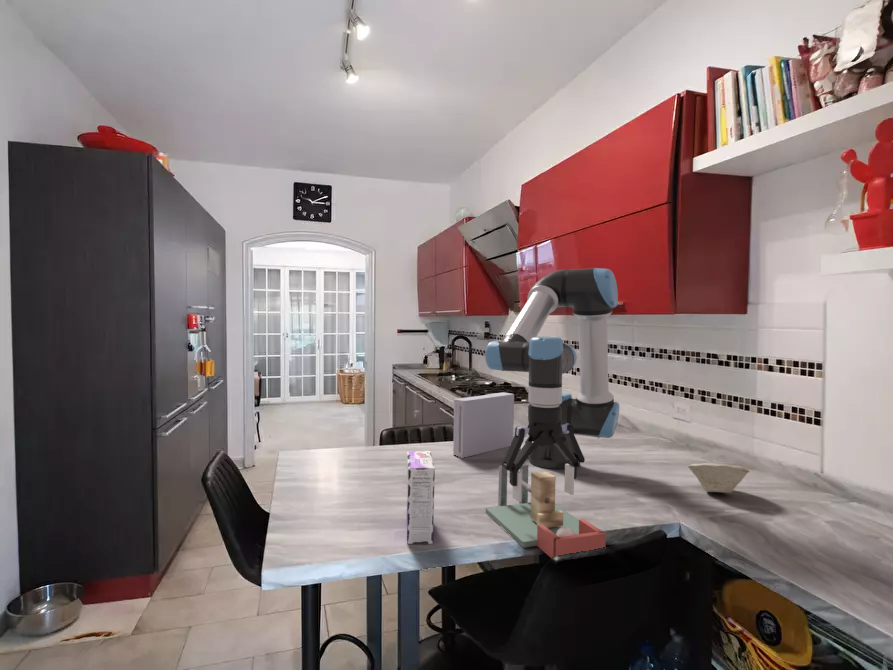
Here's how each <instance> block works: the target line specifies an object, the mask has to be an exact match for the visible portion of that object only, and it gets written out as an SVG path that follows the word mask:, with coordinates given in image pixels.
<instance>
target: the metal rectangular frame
mask: <svg viewBox="0 0 893 670" xmlns="http://www.w3.org/2000/svg"><path fill="white" fill-rule="evenodd" d="M519 471H520V472H521V480H523V481H524V482H526V483H527V484H529V464H527V463H525V462H524V464H523V465H522V466H521V468H520V469H519ZM528 498H529V491H527V490H526V489H524V488H523V487H521V501H520V502H518V504H520V503H521V504H524V503H529V502H528V501H529V499H528ZM507 500H508V470H506V469H505V468H503V467H502V465H498V501H497V502H498V506H507V505H508V501H507Z"/></svg>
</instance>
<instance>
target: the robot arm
mask: <svg viewBox="0 0 893 670" xmlns="http://www.w3.org/2000/svg"><path fill="white" fill-rule="evenodd" d="M618 291H619V290H618V285H617V280H616V277H615V274H614V273H613V271H612V270H611V269H609V268H599V267H594V268H593V267H591V268H577V269H576V268H574V269H572V268H571V269H559V270H556V271H553V272H550V273H548V274H546V275H545V276H543V277H542V278H540V279H539V280H538V281H536V282H535V284H534V285H533V286H532V287H531V289H530V290H529V292H528V293H527V301H526V302H525V304H524V306H523V307H522V308H521V310H520V312H519V313H518V315H517V316H516V318H515V320H514V321H513V322H512V324H511V326H510V328H509V329H508V331H507V332H506V333H505V336H504V337H503V338H502V340H493V341H490V342H489V343H488V344H487V346H486V347H485V353H484V354H485V355H484V359H485V363H486V366H487V367H488V368H489V369H491V370H493V371H494V370H496V371H501V372H521V373H522V372H523V373H528V395H527V397H528V398H527V399H528V400H527V401H528V403H529V404H528V407H527V420H528V425H527V427H521V426H520V425H517V426H516V427H514V428H515V429H514V435H513V440H512V442H511V444H510V446H509V447H508V449H507V451H506V454H505V456H504V459H503V460H502V462H501V466H502V467H503V468H505V469H506V470H507V472H508V471H509V476H510V478H509V485H511V486H512V498H513V499H514V500H515V501H516V502H518V503H519V502H520V501H521V472H520V468H521V466H522V465H523V464H525V462H526V461H527V459H528V458H529V463H530V464H532V465H534V466H535V467H539V468H545V469H553V470H554V469H555V470H556V469H557V470H561V469H562V470H563V469H564V492H566V493H567V494H569V495H571V496H572V495H574V494H575V493H574V492H575V480H576V479H577V477H578V476H577V473H578V468H579V467H580V466H581V464H583V463H584V462H585V461H586V459H585V456H584V454H583V451H582V450H581V447H580V445H579V442H578V440H577V439H576V436H583V437H590V438H591V437H592V438H597V439H600V438H603V439H611V438H613V437H614V435H615V433H616V430H617V425H618V423H619V422H618V421H619V416H620V403H619V402H618V401H615V400H614V394H613V393H612V392H610V389H609V351H608V350H609V349H608V347H609V346H608V345H609V344H608V343H609V342H608V340H609V339H608V317H610V316H611V314H612V313H613V309H614V308H616V307H617V306H618V303H619V297H618V296H619V292H618ZM557 308H572V314H573V316H575V317H576V318H577V322H578V323H577V324H578V326H577V327H578V349H579V351H578V352H579V353H578V354H579V355H578V356H579V384H580V385H579V386H580V388H579V389H580V390H579V392H578V393H576V395H575V398H573V396H572V394H571V393H568V392H567V393H566V392H563V375H564V374H566V373H569V371H571V370H572V369H573V368H574V367H575V365H576V363H577V358H578V357H577V353H576V350H575V349H574V348H573V346H571V345H570V344H569V343H565V342H563V340H562V338H561V337H558V336H538V335H539V333H540V332H541V330H542V328H543V326H544V324H545V323H546V321H547V319H548V317H549V315H550V314H551V313H553V312H554V311H556V309H557ZM527 435H528V438H526V437H527ZM525 438H526V440H525V441H524V439H525ZM523 443H524V444H523ZM522 445H523V446H522Z"/></svg>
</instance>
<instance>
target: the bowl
mask: <svg viewBox="0 0 893 670" xmlns="http://www.w3.org/2000/svg"><path fill="white" fill-rule="evenodd" d="M688 469H690V471H691V472H692V474H693V475H694V476H695V477H696V479H697V480H698V482H699V484H700V485H701V488H702V489H703V490H704V491H705V492H706V493H721V494H732V493H733V491H734V490H735V488H736V487H737V486H738V485H739V484H740V483H741V482H742V481H743V479H745V477H746V476H747V474H748V473H750V469H749V468H747V467H746V466H742V465H732V464H727V463H715V462H714V463H713V462H712V463H711V462H705V463H704V462H703V463H692V464H690V465H689V466H688Z"/></svg>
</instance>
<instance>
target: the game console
mask: <svg viewBox="0 0 893 670" xmlns="http://www.w3.org/2000/svg"><path fill="white" fill-rule="evenodd" d="M514 410H515V394H514V393H509V392H504V391H503V392H498V393H497V392H496V393H488V394H484V395H475V396H467V397H461V398H454V399H453V444H452V445H453V446H452V451H453V453H452V454H453V456H454V455H456V456H455V457H457V456H458V458H462V459H463V458H464V457H465V458H468V457H471V456H472V457H473V456H475V455H480V454H484V453H485V454H486V453H489V452H492V451H496V450H501V449H505V448H509V447H510V445H511V442H512V440H513V438H514V421H515V417H514V416H515V415H514V413H515V411H514Z"/></svg>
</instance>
